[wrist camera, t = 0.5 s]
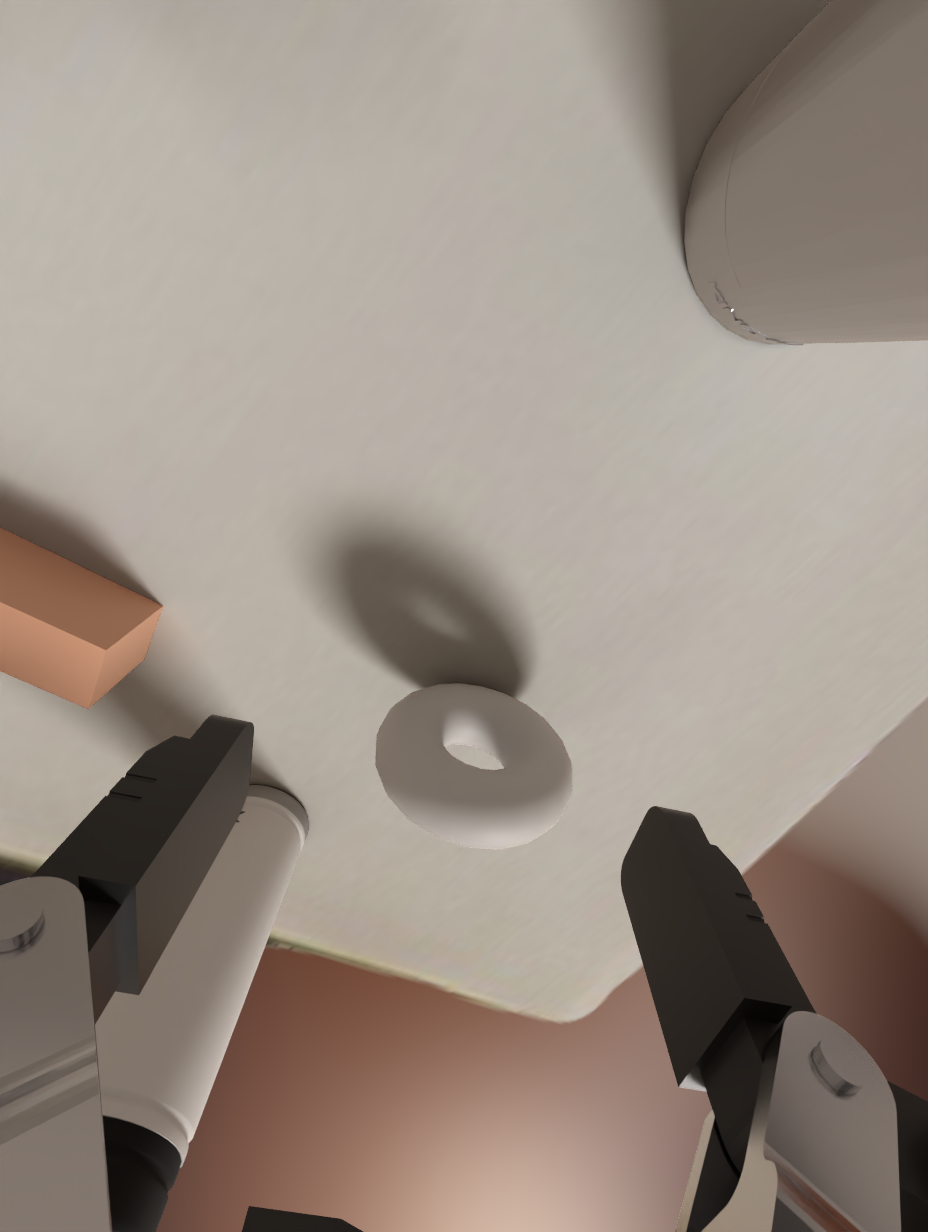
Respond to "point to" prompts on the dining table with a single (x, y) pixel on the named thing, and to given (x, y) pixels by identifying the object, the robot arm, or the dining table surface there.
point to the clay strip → (68, 623)
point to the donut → (463, 794)
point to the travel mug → (190, 1009)
